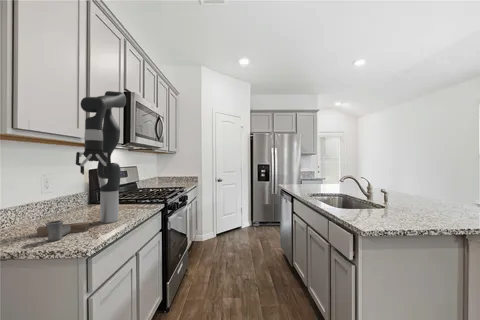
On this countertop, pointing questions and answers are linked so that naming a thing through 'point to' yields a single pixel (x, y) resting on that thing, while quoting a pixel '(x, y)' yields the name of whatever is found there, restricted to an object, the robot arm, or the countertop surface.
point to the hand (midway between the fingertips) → (93, 174)
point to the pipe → (56, 230)
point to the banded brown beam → (74, 227)
